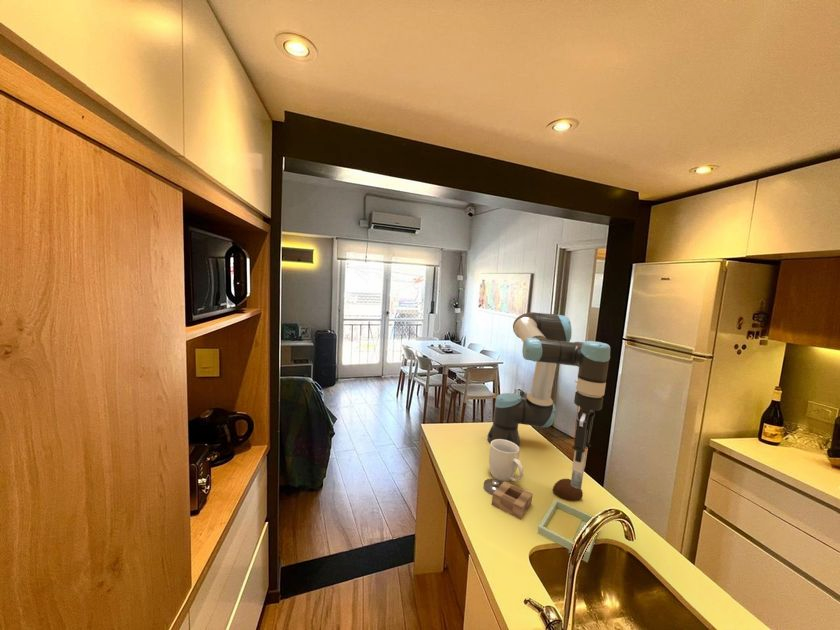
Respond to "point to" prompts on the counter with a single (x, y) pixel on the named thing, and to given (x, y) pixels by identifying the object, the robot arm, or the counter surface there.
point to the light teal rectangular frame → (559, 538)
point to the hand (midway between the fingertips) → (578, 468)
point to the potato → (567, 490)
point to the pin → (578, 476)
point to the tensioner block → (512, 499)
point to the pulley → (491, 485)
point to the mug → (504, 460)
